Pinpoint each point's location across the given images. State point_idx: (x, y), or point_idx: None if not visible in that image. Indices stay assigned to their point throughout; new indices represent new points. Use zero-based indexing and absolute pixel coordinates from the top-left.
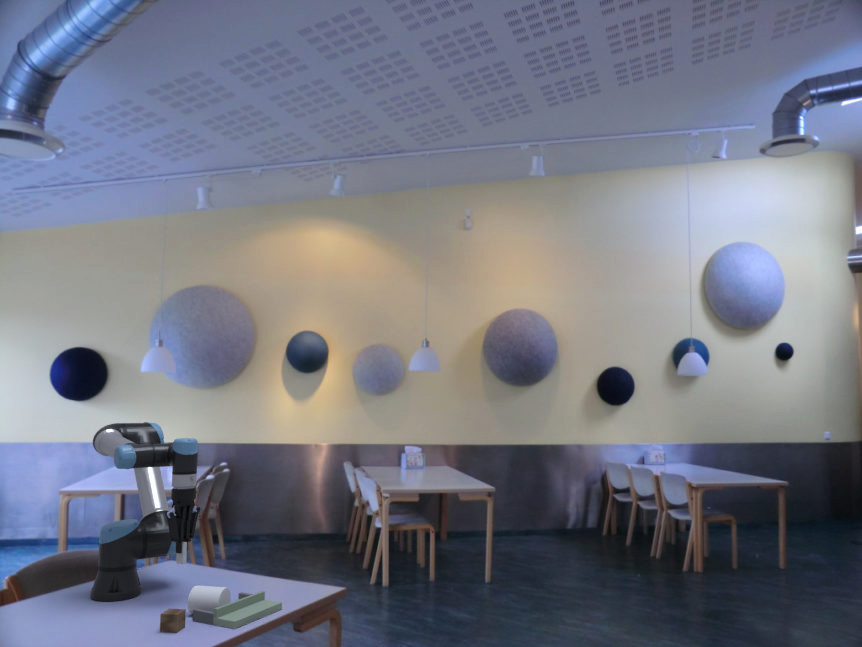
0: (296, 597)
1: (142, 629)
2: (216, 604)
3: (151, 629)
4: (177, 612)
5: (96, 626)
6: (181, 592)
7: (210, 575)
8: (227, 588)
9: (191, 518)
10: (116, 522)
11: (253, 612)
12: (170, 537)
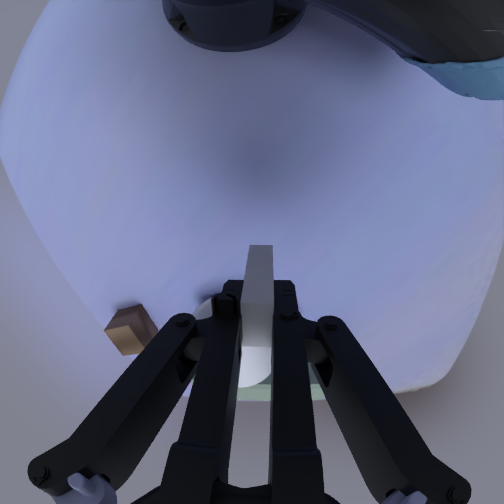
0: (391, 371)
1: (104, 276)
2: None
3: (114, 289)
4: (128, 350)
5: (63, 187)
6: (354, 132)
7: (489, 110)
8: (256, 383)
9: (368, 452)
10: None
11: (253, 396)
12: (161, 331)
